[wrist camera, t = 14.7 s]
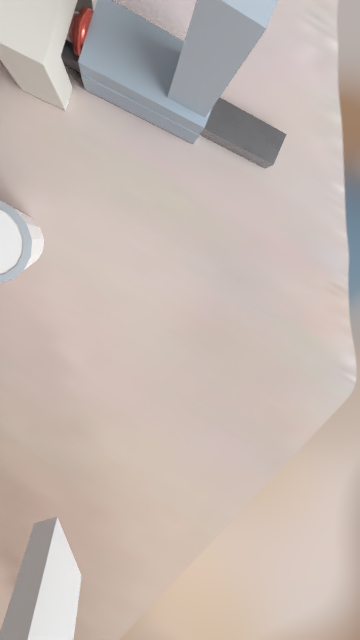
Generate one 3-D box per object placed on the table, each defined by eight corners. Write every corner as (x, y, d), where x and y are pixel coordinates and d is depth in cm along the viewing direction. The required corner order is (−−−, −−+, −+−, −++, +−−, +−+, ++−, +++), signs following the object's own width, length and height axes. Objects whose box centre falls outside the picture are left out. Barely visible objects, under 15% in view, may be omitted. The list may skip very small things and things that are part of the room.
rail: (33, 49, 30) (27, 36, 28) (44, 13, 29) (38, -3, 27) (265, 168, 35) (273, 164, 33) (277, 139, 35) (286, 134, 33)
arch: (21, 89, 30) (-20, 33, 22) (56, -31, 29) (26, -145, 20) (65, 111, 31) (43, 64, 23) (102, -5, 30) (92, -103, 21)
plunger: (-24, 9, 27) (-43, -20, 24) (-12, -35, 26) (-31, -71, 23) (85, 66, 29) (80, 46, 26) (98, 26, 28) (94, 1, 25)
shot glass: (45, 202, 33) (24, 194, 26) (54, 272, 35) (37, 281, 28) (-30, 204, 32) (-72, 196, 25) (-17, 276, 34) (-52, 287, 27)
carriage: (85, 89, 31) (34, -90, 14) (104, 29, 30) (75, -242, 13) (192, 144, 34) (263, 49, 16) (213, 90, 33) (310, -69, 15)
